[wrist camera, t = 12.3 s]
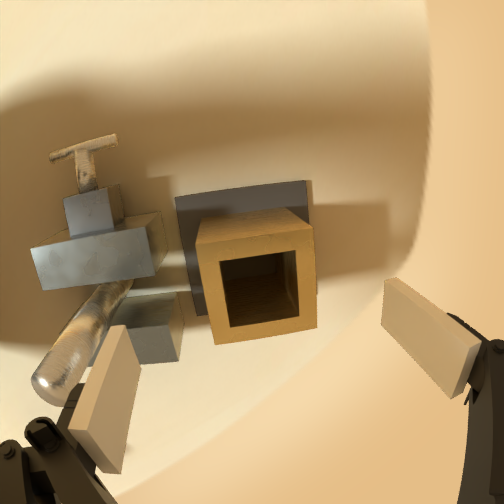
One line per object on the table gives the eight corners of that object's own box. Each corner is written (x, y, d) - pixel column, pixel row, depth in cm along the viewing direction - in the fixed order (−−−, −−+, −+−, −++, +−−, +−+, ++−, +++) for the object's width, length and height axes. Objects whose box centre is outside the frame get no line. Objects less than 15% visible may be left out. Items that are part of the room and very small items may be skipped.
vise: (94, 332, 28) (35, 444, 13) (50, 157, 22) (-76, 172, 7) (184, 323, 28) (167, 456, 14) (148, 130, 23) (61, 98, 8)
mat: (197, 313, 28) (197, 316, 28) (175, 197, 25) (174, 197, 24) (310, 295, 29) (312, 298, 28) (303, 180, 26) (305, 180, 25)
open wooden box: (214, 294, 27) (215, 345, 19) (201, 218, 25) (195, 244, 17) (290, 282, 28) (317, 327, 20) (284, 206, 25) (313, 228, 18)
